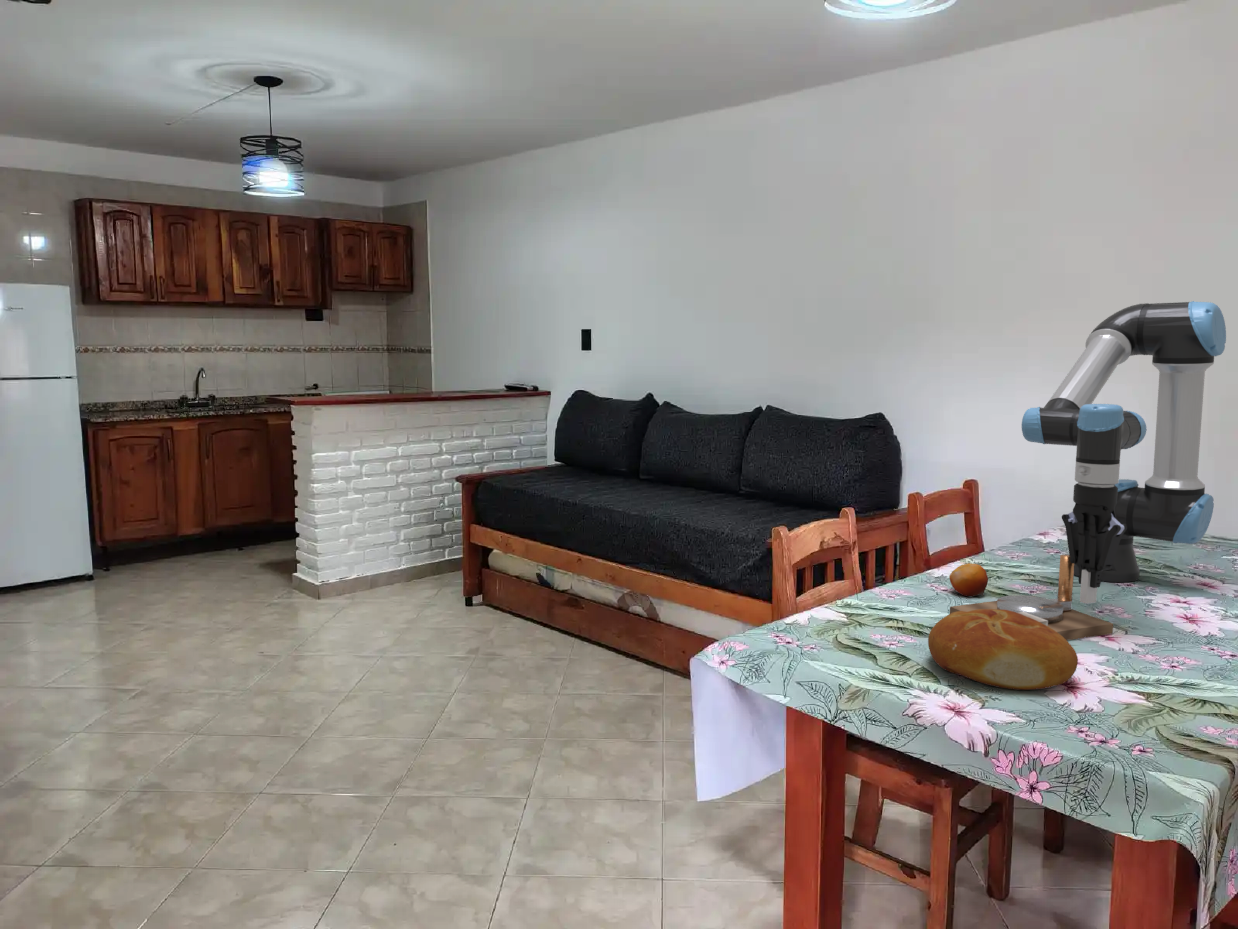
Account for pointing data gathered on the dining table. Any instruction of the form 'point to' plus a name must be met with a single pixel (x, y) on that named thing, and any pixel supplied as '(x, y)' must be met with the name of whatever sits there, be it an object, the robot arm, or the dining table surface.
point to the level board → (1067, 627)
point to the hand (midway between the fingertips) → (1087, 601)
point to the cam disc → (1042, 606)
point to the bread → (1002, 649)
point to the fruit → (969, 579)
